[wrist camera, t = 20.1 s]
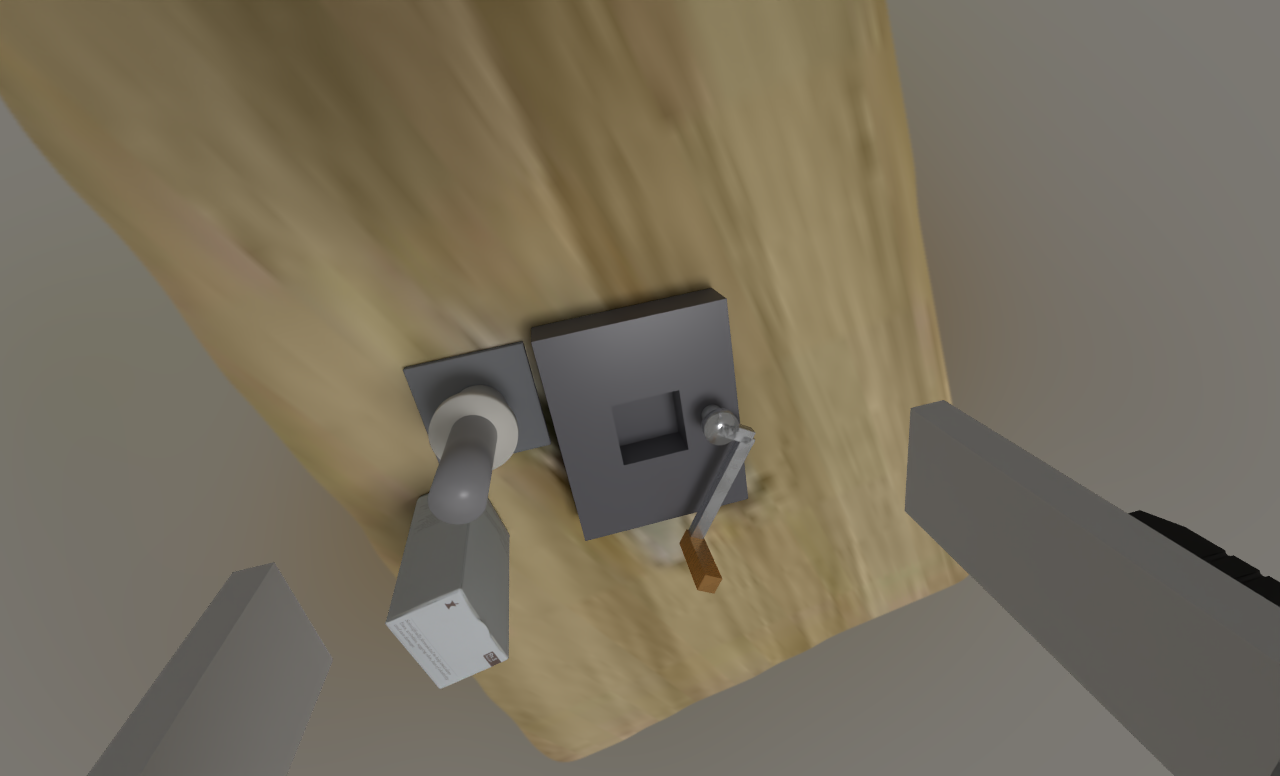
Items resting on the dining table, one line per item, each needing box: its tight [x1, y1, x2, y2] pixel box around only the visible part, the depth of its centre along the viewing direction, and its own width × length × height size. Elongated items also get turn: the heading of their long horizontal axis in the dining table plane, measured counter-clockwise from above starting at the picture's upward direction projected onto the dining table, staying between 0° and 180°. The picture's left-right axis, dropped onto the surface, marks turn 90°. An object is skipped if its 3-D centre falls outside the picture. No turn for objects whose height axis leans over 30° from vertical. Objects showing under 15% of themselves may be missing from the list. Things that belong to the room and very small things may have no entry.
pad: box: [403, 341, 551, 463], centre depth 47 cm, size 10×10×1 cm
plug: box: [428, 385, 519, 525], centre depth 41 cm, size 7×7×14 cm
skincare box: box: [385, 494, 510, 688], centre depth 45 cm, size 8×6×15 cm
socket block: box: [531, 288, 748, 541], centre depth 48 cm, size 20×16×6 cm
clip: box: [680, 408, 755, 593], centre depth 45 cm, size 5×14×6 cm, turn 157°
